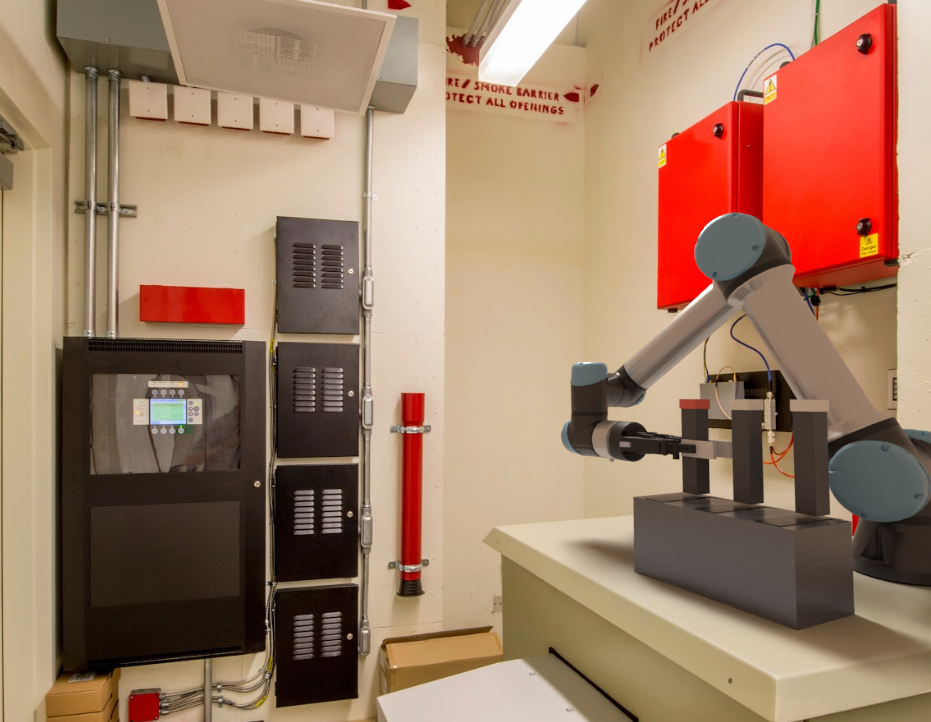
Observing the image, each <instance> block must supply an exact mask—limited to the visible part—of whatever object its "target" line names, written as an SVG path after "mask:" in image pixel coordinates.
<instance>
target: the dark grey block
mask: <svg viewBox="0 0 931 722" xmlns="http://www.w3.org/2000/svg"><path fill="white" fill-rule="evenodd" d="M632 498H633V499H632V500H633V563H634V564H633V566H634V567H633V569H634V570H633V571H634V572H636V573H638V574H641V575H644V576H647V577H648V578H649V577H650V578H653V579H654V580H658V581H660V582H663V583H666V584H668V585H671V586H674V587H677V588H679V589H682V590H686V591H688V592H691V593H694V594H697V595H700V596H702V597H705V598H708V599H710V600H713V601H715V602H719V603H721V604H724V605H726V604H727V606H729V605H730V606H729V607H732V608H734V609H735V608H736V609H739V610H740V609H741V611H743V610H744V611H743V612H746V613H749V614H751V613H752V615H755V616H757V617H761V618H763V619H765V620H768V621H770V622H774V623H777V624H780V625H782V626H784V627H788V628H790V629H793V630H796V631H798V630H802V629H805V628H810V627H813V626H816V625H820V624H823V623H827V622H830V621H835V620H837V619H841V618H842V619H843V618H845V617H849V616H852V615H855V612H856V611H855V585H854V581H855V580H854V569H853V551H852V539H853V532H852V531H853V525H852V521H851V520H845V519H844V518H840V517H839V518H838V517H832V516H828V515H825V516H818V517H816V516H810V515H805V514H799V513H795V509H794V510H793V509H788V508H781V507H775V506H772V505H771V506H770V505H764V504H753V505H749V504H744V503H738V502H733V499H730V498H725V497H720V496H714V495H709V494H701V495H695V494H689V493H684V492H683V491H682V492H671V493H662V494H661V493H659V494H649V495H640V496H633V497H632Z"/></svg>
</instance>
